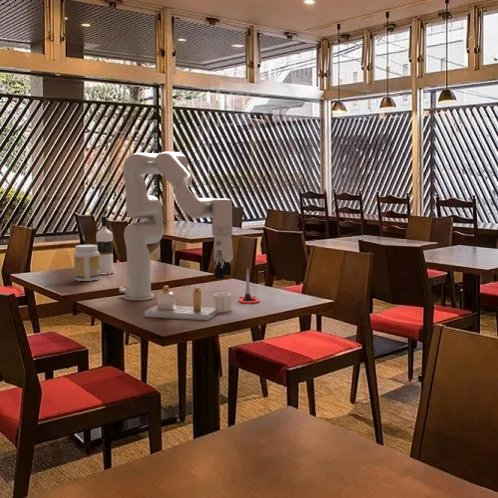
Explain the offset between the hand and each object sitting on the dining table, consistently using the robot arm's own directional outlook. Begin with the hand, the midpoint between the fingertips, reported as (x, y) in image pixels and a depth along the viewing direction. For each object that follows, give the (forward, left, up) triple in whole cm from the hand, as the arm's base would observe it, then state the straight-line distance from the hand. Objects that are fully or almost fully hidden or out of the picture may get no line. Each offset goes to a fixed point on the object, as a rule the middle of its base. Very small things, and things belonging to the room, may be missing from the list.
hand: (223, 276), depth 239 cm
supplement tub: (-84, +50, -13) cm, 98 cm away
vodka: (-85, +71, -13) cm, 111 cm away
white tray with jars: (-13, -12, -13) cm, 21 cm away
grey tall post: (+5, +18, -13) cm, 23 cm away
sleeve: (-1, 0, -13) cm, 13 cm away
